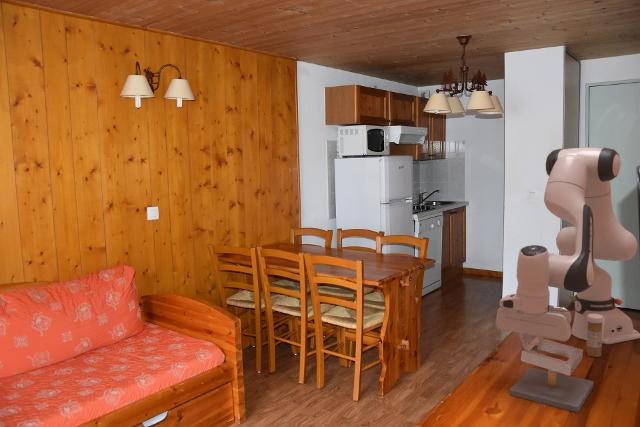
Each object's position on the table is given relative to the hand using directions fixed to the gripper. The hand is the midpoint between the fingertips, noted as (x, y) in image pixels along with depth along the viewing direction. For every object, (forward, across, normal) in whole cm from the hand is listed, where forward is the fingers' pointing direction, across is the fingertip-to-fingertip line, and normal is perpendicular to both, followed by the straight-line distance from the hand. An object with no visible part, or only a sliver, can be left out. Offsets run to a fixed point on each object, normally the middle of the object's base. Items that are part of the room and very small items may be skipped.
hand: (531, 348), depth 155 cm
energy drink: (+11, +8, -29) cm, 32 cm away
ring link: (+2, -6, 0) cm, 6 cm away
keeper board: (+11, -6, 0) cm, 13 cm away
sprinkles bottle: (+11, -10, -33) cm, 36 cm away
